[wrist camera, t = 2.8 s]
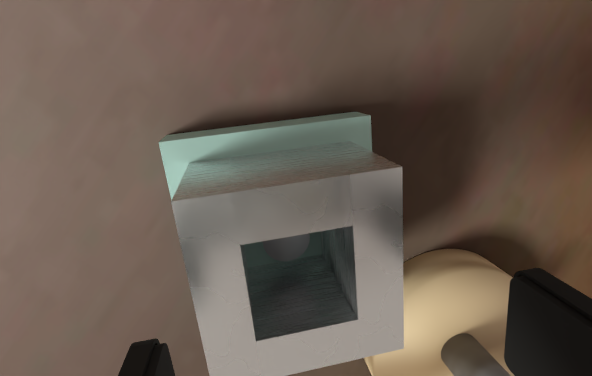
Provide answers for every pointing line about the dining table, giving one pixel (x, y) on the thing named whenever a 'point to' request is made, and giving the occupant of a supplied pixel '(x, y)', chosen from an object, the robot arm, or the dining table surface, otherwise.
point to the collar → (299, 272)
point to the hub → (450, 318)
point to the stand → (260, 140)
